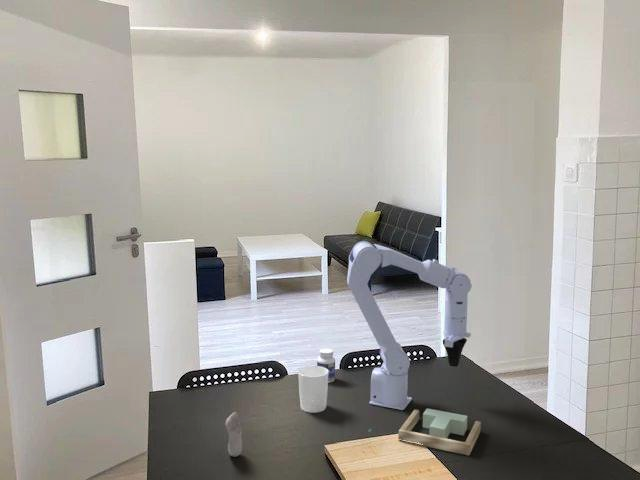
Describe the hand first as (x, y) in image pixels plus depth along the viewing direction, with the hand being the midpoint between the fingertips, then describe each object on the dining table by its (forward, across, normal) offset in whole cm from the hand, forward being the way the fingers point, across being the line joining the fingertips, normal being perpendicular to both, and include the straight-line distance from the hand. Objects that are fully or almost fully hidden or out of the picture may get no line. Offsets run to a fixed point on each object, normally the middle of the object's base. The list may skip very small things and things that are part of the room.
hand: (453, 365), depth 164 cm
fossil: (+10, -50, +37) cm, 63 cm away
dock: (+10, -21, -2) cm, 23 cm away
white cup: (+10, -20, +32) cm, 39 cm away
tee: (+10, -20, -2) cm, 22 cm away
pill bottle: (+10, -1, +37) cm, 38 cm away
